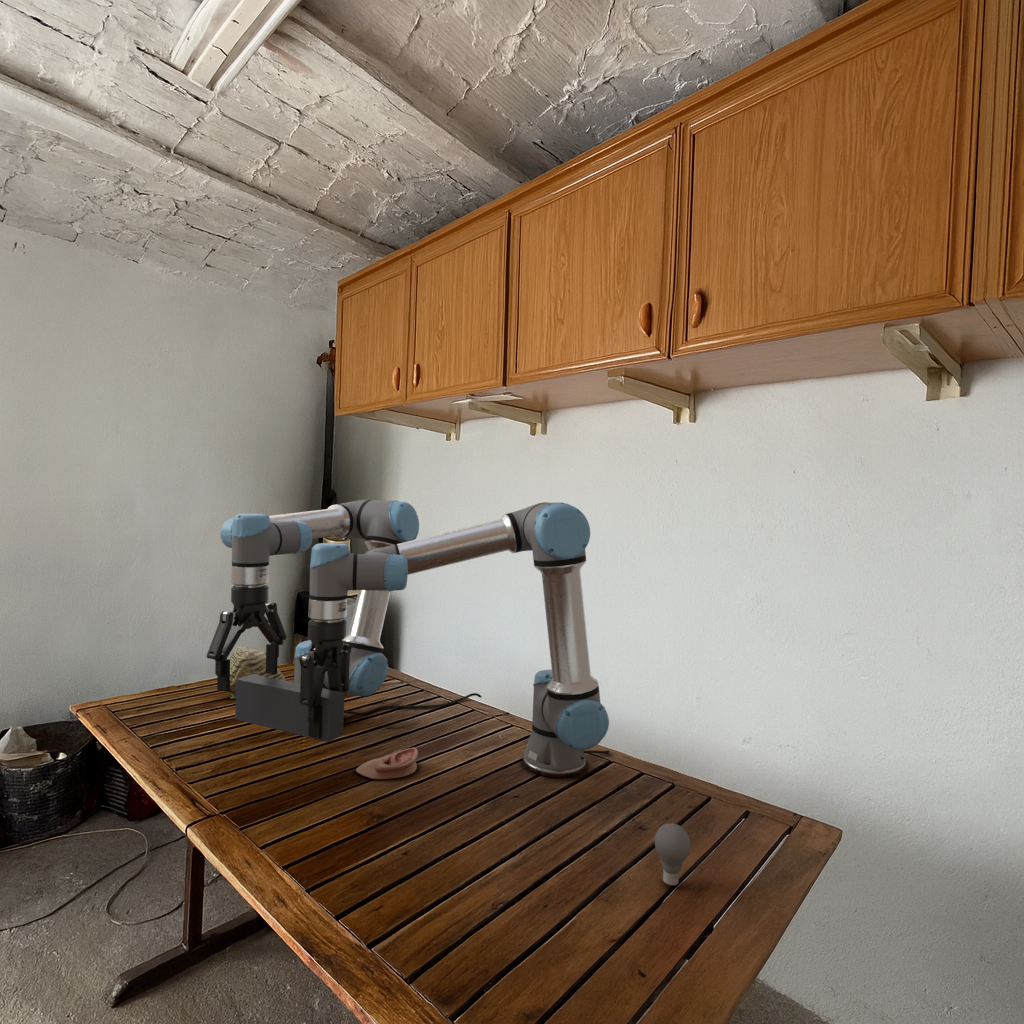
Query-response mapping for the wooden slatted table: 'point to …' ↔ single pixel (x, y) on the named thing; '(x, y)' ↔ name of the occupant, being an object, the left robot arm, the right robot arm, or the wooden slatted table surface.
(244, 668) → the fossil
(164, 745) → the wooden slatted table surface
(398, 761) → the anatomical model
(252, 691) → the bar
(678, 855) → the light bulb
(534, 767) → the right robot arm
